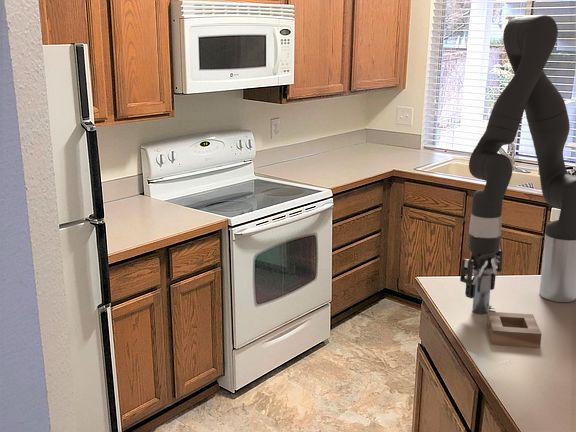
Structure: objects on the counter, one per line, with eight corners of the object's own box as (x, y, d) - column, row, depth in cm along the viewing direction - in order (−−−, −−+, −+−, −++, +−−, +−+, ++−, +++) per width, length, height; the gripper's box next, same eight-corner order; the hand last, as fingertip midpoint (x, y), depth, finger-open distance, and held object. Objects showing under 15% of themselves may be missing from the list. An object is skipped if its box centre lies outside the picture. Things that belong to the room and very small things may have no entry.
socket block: (486, 324, 150) (487, 311, 149) (531, 327, 148) (533, 314, 147) (491, 344, 140) (493, 330, 139) (540, 347, 138) (541, 333, 137)
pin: (477, 305, 161) (480, 262, 157) (494, 311, 157) (497, 267, 154) (466, 310, 158) (469, 267, 155) (483, 316, 154) (486, 272, 151)
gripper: (488, 223, 159) (483, 282, 163) (454, 234, 150) (450, 295, 154) (514, 230, 153) (508, 290, 157) (480, 241, 144) (475, 305, 149)
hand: (479, 293), depth 156 cm, fingers open, 8 cm apart
